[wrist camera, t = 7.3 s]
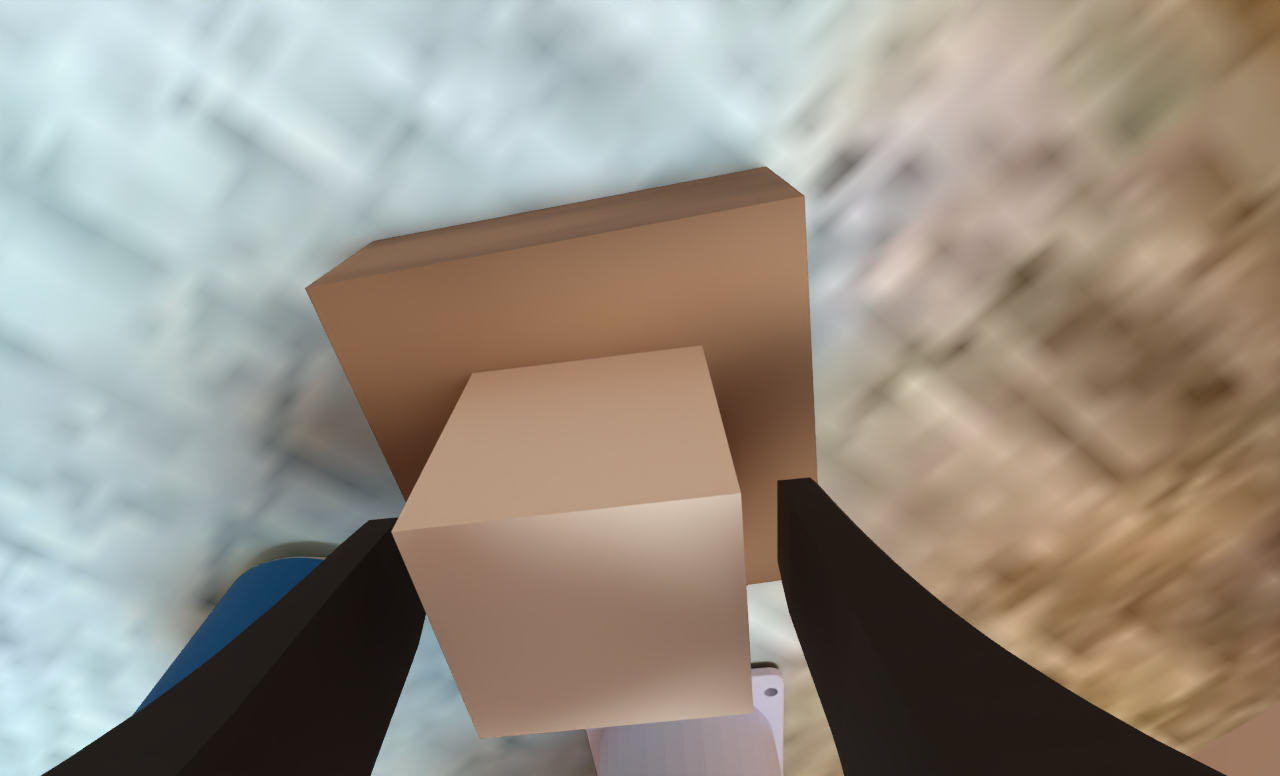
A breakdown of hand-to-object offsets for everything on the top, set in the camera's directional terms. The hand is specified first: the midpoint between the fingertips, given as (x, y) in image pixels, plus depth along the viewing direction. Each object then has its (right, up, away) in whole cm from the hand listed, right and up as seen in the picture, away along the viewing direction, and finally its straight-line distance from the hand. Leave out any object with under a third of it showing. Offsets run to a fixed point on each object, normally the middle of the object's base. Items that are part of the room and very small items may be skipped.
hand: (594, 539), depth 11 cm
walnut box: (0, +3, +6) cm, 7 cm away
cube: (0, +1, +3) cm, 3 cm away
